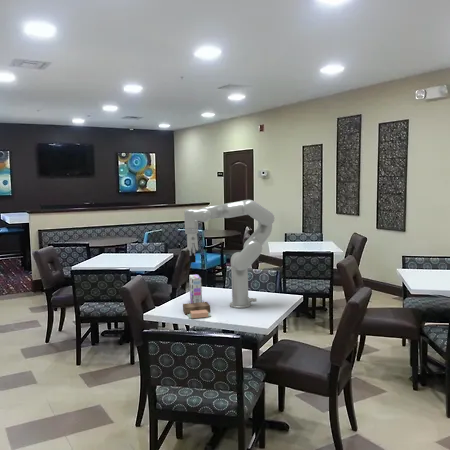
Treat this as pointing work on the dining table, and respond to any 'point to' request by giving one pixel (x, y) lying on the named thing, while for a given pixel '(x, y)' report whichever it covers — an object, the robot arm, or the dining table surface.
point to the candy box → (195, 288)
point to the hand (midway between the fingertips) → (192, 262)
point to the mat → (201, 317)
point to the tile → (199, 313)
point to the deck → (195, 307)
